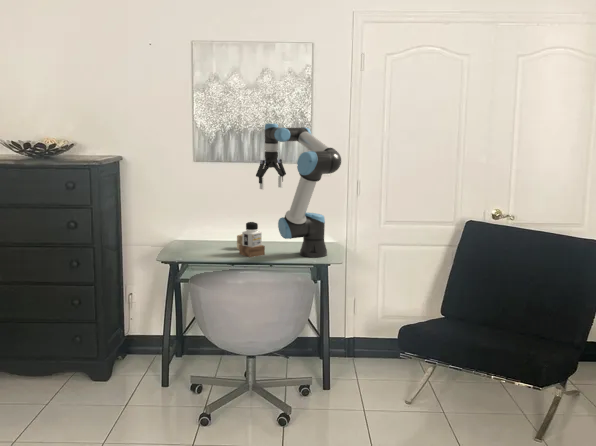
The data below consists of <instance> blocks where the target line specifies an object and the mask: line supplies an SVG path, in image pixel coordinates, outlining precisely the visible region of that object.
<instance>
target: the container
mask: <svg viewBox="0 0 596 446" xmlns="http://www.w3.org/2000/svg"><path fill="white" fill-rule="evenodd" d="M241 234H242V245H243V246H248V247H256V246H261V245H263V244H262V241H263V240H262V234H263V233H262V231H259V223H258V222H256V221H248V222H246V223H245V231H242V232H241Z"/></svg>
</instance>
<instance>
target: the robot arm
mask: <svg viewBox="0 0 596 446" xmlns="http://www.w3.org/2000/svg"><path fill="white" fill-rule="evenodd" d="M285 142H298V143H299V144H300V145H302V146H303V147H305V149H307V150H308V151H304V152H302V153H300V155H299V156H298V159H297V162H296V164H297V165H296V168H297V169H296V170H297V172H298V175H299V176H300V177H299V181H298V183H297V187H296V189H295V193H294V196H293V199H292V202H291V205H290V207H289V210H287V211H286V212H285V213H284V216H283V217H282V216H281V217H280V218H279V219H278V220H277V221H278V222H277V228H278V232H279V234H280V236H281V237H282V238H283V239H286V240H289V239H290V240H291V239H299V238H302V240H303V241H302V243H301V247H300V250H299V255H300V256H302V257H305V258H323V257H326V256H327V255H328V249H327V246H326V242H325V227H326V226H325V224H326V221H325V220H326V219H325V216H324V215H323V214H320V213H316V212H307V211H308V208H309V204H310V201H311V199H312V196H313V194H314V191H315V187H316V184H317V182H319V181H321V179H322V177H323V175H328V174H330V175H331V174H334V173H335V172H337V171H338V170H339V169H340V168H341V165H342V156H341V154H340V153H339V151H338V150H336V149H335V148H333V147H329V146H328V145H326V144H324V143H323V142H322V141H321V140H320V139H319V138H316V137H315V136H314V135H312V132H311V129H310V128H309V127H279V125H278V123H265V125H264V159H261V160H260V163H259V166H258V169H257V171H256V174H255V177H257V178H258V184H259V189H260V190H262V191H263V190H264V189H265V179H264V176H265V174H266V173H267V171H268V169H270V168H274V170H275V171H276V172H277V174H278V175H279V176H278V178H277V181H278V182H277V184H278V185H277V186H278V188H280V189H281V188H283V182H284V177H285V176H286V175H287V173H286V170H285V167H284V165H283V160H282V159H281V158H279V152H278V150H279V143H285Z"/></svg>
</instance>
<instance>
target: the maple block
mask: <svg viewBox="0 0 596 446" xmlns="http://www.w3.org/2000/svg"><path fill="white" fill-rule="evenodd" d="M239 245H242V233H241V234H237V235H236V250H239Z"/></svg>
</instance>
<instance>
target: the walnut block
mask: <svg viewBox="0 0 596 446" xmlns="http://www.w3.org/2000/svg"><path fill="white" fill-rule="evenodd" d="M265 249H266V248H265V245H263V244H262V245H261V246H256V247H248V246H243V245H239V249H238V251H239V252H238V253H239V255H240V256H241V255H242V256H245V257H248V258H253V257H254V256H255V257H258V256H265V253H266V252H265Z"/></svg>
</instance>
